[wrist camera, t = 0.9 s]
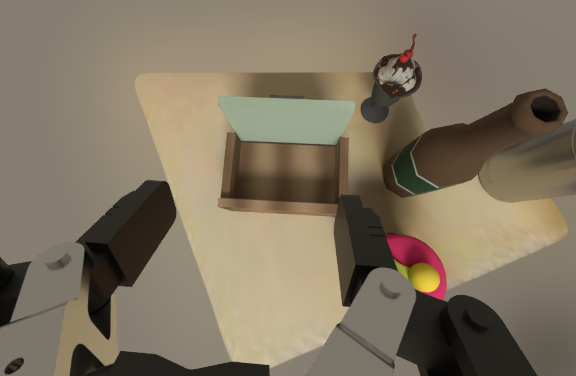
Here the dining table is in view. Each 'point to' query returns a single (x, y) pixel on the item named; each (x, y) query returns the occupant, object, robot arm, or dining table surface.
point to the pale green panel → (287, 118)
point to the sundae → (391, 84)
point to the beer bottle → (471, 144)
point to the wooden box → (284, 177)
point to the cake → (418, 264)
